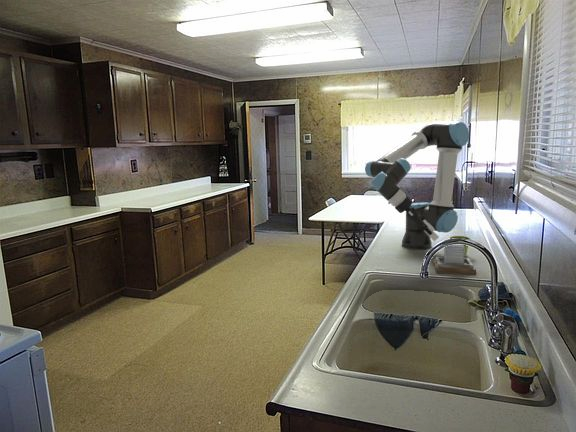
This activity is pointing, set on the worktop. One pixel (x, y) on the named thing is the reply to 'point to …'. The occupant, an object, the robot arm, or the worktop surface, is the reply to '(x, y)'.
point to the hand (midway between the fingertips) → (434, 235)
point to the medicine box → (454, 254)
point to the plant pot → (463, 245)
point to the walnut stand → (453, 266)
